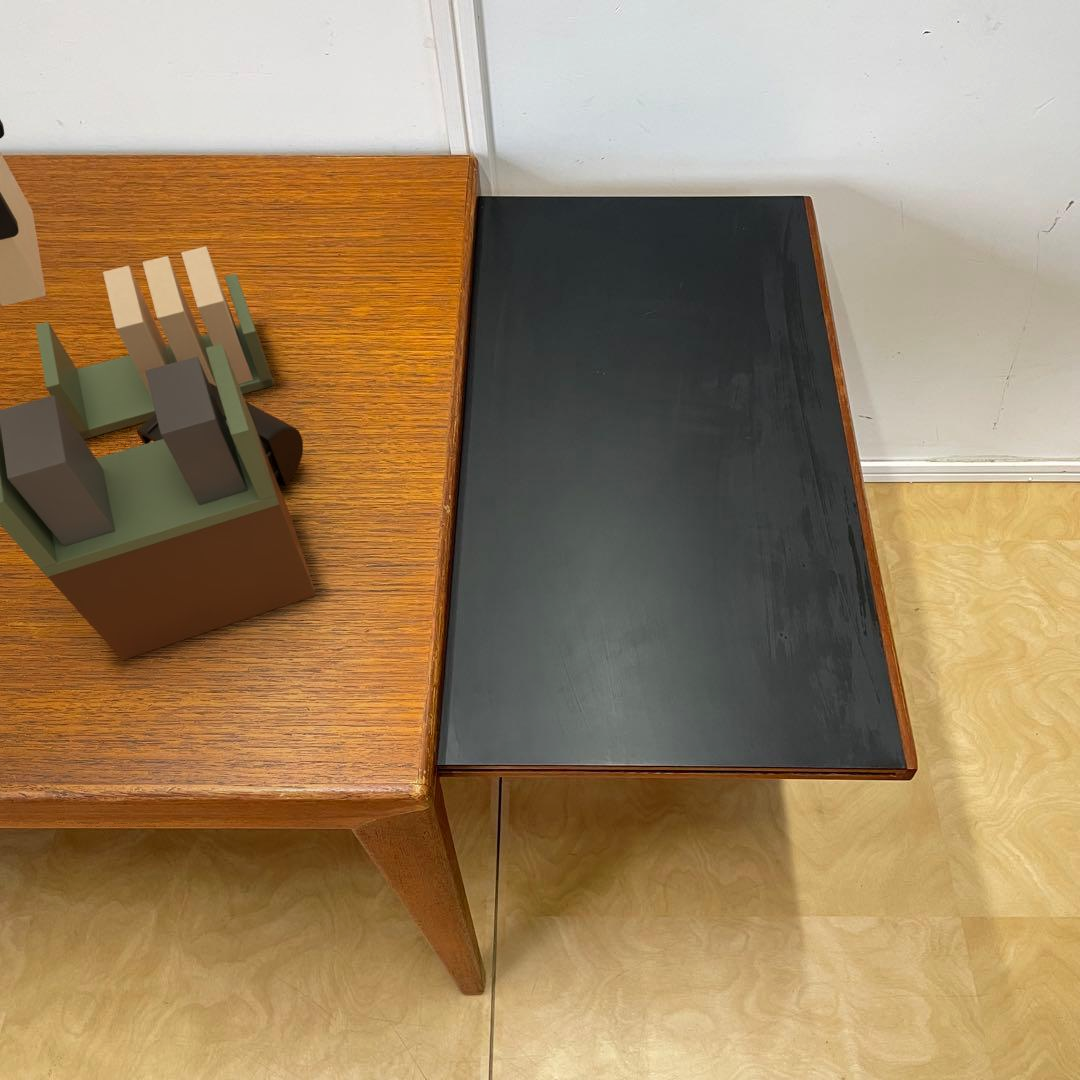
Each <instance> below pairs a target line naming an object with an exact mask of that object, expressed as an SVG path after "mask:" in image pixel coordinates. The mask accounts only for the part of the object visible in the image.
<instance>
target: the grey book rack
mask: <svg viewBox="0 0 1080 1080" xmlns="http://www.w3.org/2000/svg"><path fill="white" fill-rule="evenodd" d="M206 352H207V355H208V359H209V362H210V365H211V369H212V372H213V376H214V379H215V382H216V386H217V389H218V392H219V396H220V399H221V403H222V406H223V409H224V413H225V416H226V420H227V421H226V420H225V418H224V416H223V413H222V411H221V409H220V407H219V404H218V402H217V400H216V397H215V395H214V393H213V391H212V388H211V386H210V384H209V381H208V379H207V377H206V374H205V372H204V370H203V368H202V365H201V363H200V361H199V358H198V357H193V358H189V359H186V360H182V361H178V362H175V363H171V364H167V365H164V366H160V367H156V368H153V369H149V370H146V371H145V372H146V376H147V380H148V384H149V388H150V392H151V396H152V400H153V405H154V409H155V413H156V417H157V421H158V425H159V429H160V433H161V436H162V437H163V439H161V440H158V441H150V442H149V443H147V444H144V443H143V444H141V445H137V446H134V447H131V448H127V449H123V450H120V451H116V452H113V453H110V454H107V455H106V454H105V455H102V456H99V457H96V455H94V453H93V452H92V450H91V449H90V447H89V446H88V444H87V442H86V441H85V439H84V440H83V438H82V437H81V435H80V434H79V432H78V431H77V429H76V428H75V426H74V424H73V423H72V421H71V420H70V418H69V417H68V415H67V414H66V412H65V411H64V409H63V408H62V406H61V405H60V403H59V402H58V400H57V399H56V397H55V396H51V395H50V396H47V397H43V398H39V399H35V400H32V401H27V402H24V403H21V404H18V405H17V404H16V405H14V406H10V407H6V408H2V409H0V526H1V528H2V529H3V530H4V531H5V532H6V533H7V534H8V535H9V537H10V538H11V539H12V540H13V541H14V542H15V543H16V544H17V546H19V548H20V549H21V550H22V551H23V553H25V554H26V555H27V557H29V559H31V561H32V563H34V564H35V566H37V567H38V569H39V570H40V571H41V572H42V574H44V575H45V576H46V577H47V579H48V580H49V581H51V583H52V584H53V585H54V586H55V587H56V588H57V589H58V591H60V593H61V594H62V595H63V596H64V597H65V598H66V599H67V601H68V602H70V604H71V605H72V606H73V607H74V608H75V609H76V611H77V612H78V613H79V614H80V615H81V616H82V617H83V618H84V619H85V620H86V621H87V622H88V624H89V625H90V626H91V627H92V628H93V629H94V630H95V632H97V634H98V635H99V636H100V637H101V638H102V639H103V640H104V642H105V643H106V644H107V645H108V646H109V647H110V648H111V649H112V650H113V651H114V653H116V655H117V656H118V657H119V658H120V659H121V660H122V661H125V660H128V659H130V658H133V657H137V656H139V655H143V654H146V653H148V652H151V651H154V650H158V649H160V648H163V647H166V646H169V645H172V644H175V643H178V642H181V641H184V640H187V639H191V638H193V637H196V636H199V635H202V634H204V633H208V632H211V631H213V630H217V629H220V628H222V627H226V626H229V625H232V624H235V623H237V622H240V621H243V620H247V619H250V618H253V617H256V616H258V615H261V614H264V613H268V612H271V611H273V610H276V609H280V608H282V607H285V606H289V605H290V604H295V603H297V602H301V601H303V600H306V599H309V598H311V597H312V598H313V597H316V595H317V593H316V589H315V586H314V583H313V580H312V577H311V574H310V570H309V568H308V565H307V561H306V559H305V555H304V552H303V548H302V545H301V543H300V540H299V536H298V533H297V531H296V527H295V524H294V520H293V519H292V516H291V513H290V511H289V508H288V506H287V503H286V501H285V499H284V498H285V497H284V496H283V493H282V491H280V488H279V486H278V483H277V480H276V478H275V475H274V473H273V470H272V468H271V465H270V463H269V460H268V458H267V455H266V453H265V450H264V448H263V445H262V443H261V440H260V438H259V435H258V433H257V430H256V428H255V425H254V422H253V420H252V417H251V415H250V412H249V410H248V407H247V405H246V402H247V401H246V400H245V396H244V394H242V392H241V390H240V387H239V385H238V382H237V380H236V377H235V374H234V372H233V369H232V367H231V364H230V362H229V359H228V357H227V354H226V352H225V349H224V347H223V344H218V345H215V346H211V347H207V348H206Z"/></svg>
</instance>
